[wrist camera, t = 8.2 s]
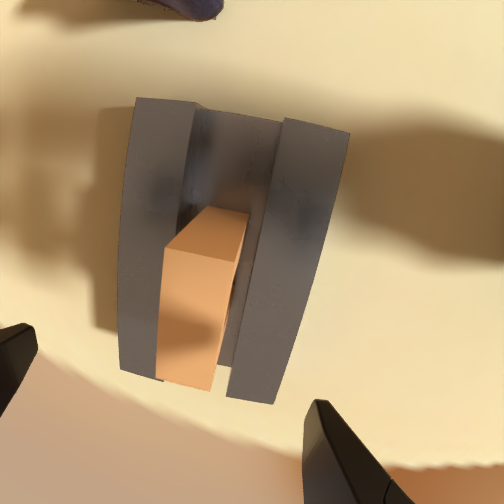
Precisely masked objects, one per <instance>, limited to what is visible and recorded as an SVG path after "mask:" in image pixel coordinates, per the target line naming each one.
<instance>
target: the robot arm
mask: <svg viewBox="0 0 504 504" xmlns="http://www.w3.org/2000/svg"><path fill="white" fill-rule="evenodd" d="M37 351H38V344H37V339H36V334H35V329H34V327H33V326H31V325H29V324H26V323H20V324H17V325H14V326H10V327H7V328H4V329H0V417H1V416H2V414H3V412H4V411H5V409H6V407H7V406H8V404H9V402H10V401H11V399H12V397H13V396H14V394H15V393H16V391H17V390H18V388H19V386H20V384H21V382H22V381H23V379H24V377H25V375H26V373H27V371H28V369H29V367H30V365H31V363H32V361H33V359H34V357H35V356H36V354H37ZM302 478H303V492H304V504H415V503H414V502H413V501H412V500H411V499H410V498H409V497H408V496H407V494H406V493H405V492H404V491H403V490H402V489H401V488H400V487H399V486H398V484H397V483H396V482H395V481H394V480H393V479H391V477H390V475H389V474H388V473H387V472H386V470H385V469H384V468H383V467H382V466H381V464H380V463H379V462H378V461H377V460H376V458H375V457H374V456H373V455H372V454H371V452H370V451H369V450H368V449H367V448H366V446H365V445H364V444H363V443H362V442H361V440H360V439H359V438H358V437H357V435H356V434H355V433H354V432H353V431H352V429H351V428H350V427H349V426H348V424H347V423H346V422H345V421H344V419H343V418H342V417H341V416H340V415H339V413H338V412H337V411H336V410H335V408H334V407H333V406H332V405H331V403H330V402H329V401H328V400H321V399H315V400H314V401H313V402H312V404H311V406H310V408H309V410H308V413H307V415H306V417H305V421H304V436H303V453H302Z"/></svg>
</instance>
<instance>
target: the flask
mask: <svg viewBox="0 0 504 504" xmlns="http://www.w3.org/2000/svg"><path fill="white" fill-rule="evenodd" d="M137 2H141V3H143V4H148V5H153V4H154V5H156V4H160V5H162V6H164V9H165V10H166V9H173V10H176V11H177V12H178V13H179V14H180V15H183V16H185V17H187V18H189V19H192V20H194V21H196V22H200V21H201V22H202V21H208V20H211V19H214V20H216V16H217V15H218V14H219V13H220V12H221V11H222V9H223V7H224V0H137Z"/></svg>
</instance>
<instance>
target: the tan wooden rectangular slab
mask: <svg viewBox="0 0 504 504" xmlns="http://www.w3.org/2000/svg"><path fill="white" fill-rule="evenodd" d="M249 215H250V214H246V213H241V212H236V211H231V210H226V209H221V208H217V207H212V206H207V207H206V208H205V209H203V210H202V211H201V212H200V213H199V214H198V215H197V216H196V217H195V218H194V219H193V220H192V221H191V222H190V223H189V224H188V225H187V226H186V227H185V228H184V229H183V230H182V231H181V232H180V233H179V234H178V235H177V236H176V237H175V238H174V239H173V240H172V241H171V242H170V243H169V244H168V245H167V246H166V247H165V251H164V260H163V270H162V281H161V292H160V304H159V318H158V334H157V354H156V378H158V379H162V380H165V381H169V382H173V383H176V384H180V385H184V386H188V387H192V388H197V389H201V390H205V391H210V389H211V385H212V381H213V377H214V373H215V369H216V365H217V361H218V357H219V353H220V349H221V344H222V340H223V336H224V332H225V328H226V324H227V320H228V316H229V312H230V308H231V303H232V298H233V293H234V289H235V285H232V283H233V279H234V275H235V272H236V268H237V265H238V261H239V257H240V254H241V251H242V247H243V244H244V239H245V235H246V230H247V225H248V220H249Z"/></svg>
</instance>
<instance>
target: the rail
mask: <svg viewBox="0 0 504 504" xmlns="http://www.w3.org/2000/svg"><path fill="white" fill-rule="evenodd" d="M349 136H350V133H347V132H343V131H339V130H336V129H332V128H328V127H324V126H320V125H316V124H312V123H308V122H303V121H299V120H294V119H290V118H284V120H283V122H278V121H273V120H268V119H262V118H257V117H252V116H246V115H240V114H234V113H228V112H221V111H214V110H209V109H207V108H205V107H203V106H201V105H200V104H198V103H195V102H186V101H176V100H166V99H153V98H139V97H137V98H136V103H135V108H134V114H133V119H132V125H131V131H130V138H129V144H128V151H127V159H126V167H125V175H124V184H123V193H122V204H121V216H120V231H119V250H118V287H117V306H118V343H119V361H120V369H121V370H124V371H127V372H131V373H134V374H137V375H140V376H144V377H147V378H151V379H154V380H158V381H162V382H164V380H162V379H158V378H156V354H157V334H158V318H159V304H160V292H161V281H162V270H163V260H164V251H165V247H166V246H167V245H168V244H169V243H170V242H171V241H172V240H173V239H174V238H175V237H176V236H177V235H178V234H179V233H180V232H181V231H182V230H183V229H184V228H185V227H186V226H187V225H188V224H189V223H190V222H191V221H192V220H193V219H194V218H195V217H196V216H197V215H198V214H199V213H200V212H201V211H202V210H203V209H205V208H206V207H207V206H212V207H217V208H221V209H226V210H231V211H236V212H241V213H246V214H250V215H249V220H248V225H247V230H246V235H245V239H244V244H243V247H242V251H241V254H240V257H239V261H238V265H237V268H236V272H235V275H234V279H233V283H232V285H235V289H234V293H233V298H232V303H231V308H230V312H229V316H228V320H227V324H226V328H225V332H224V336H223V340H222V344H221V349H220V353H219V357H218V361H217V364H218V365H223V366H228V367H231V371H230V376H229V382H228V387H227V392H226V397H231V398H236V399H242V400H247V401H253V402H259V403H266V404H272V405H273V403H274V401H275V398H276V395H277V392H278V389H279V387H280V384H281V381H282V378H283V375H284V372H285V369H286V366H287V363H288V360H289V357H290V354H291V351H292V348H293V345H294V342H295V339H296V336H297V333H298V330H299V326H300V323H301V320H302V317H303V314H304V310H305V307H306V304H307V300H308V297H309V294H310V290H311V287H312V284H313V280H314V277H315V273H316V270H317V266H318V263H319V259H320V255H321V252H322V248H323V244H324V241H325V237H326V233H327V229H328V225H329V222H330V218H331V214H332V210H333V206H334V202H335V198H336V194H337V189H338V185H339V181H340V177H341V172H342V168H343V164H344V159H345V155H346V150H347V146H348V141H349Z"/></svg>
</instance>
